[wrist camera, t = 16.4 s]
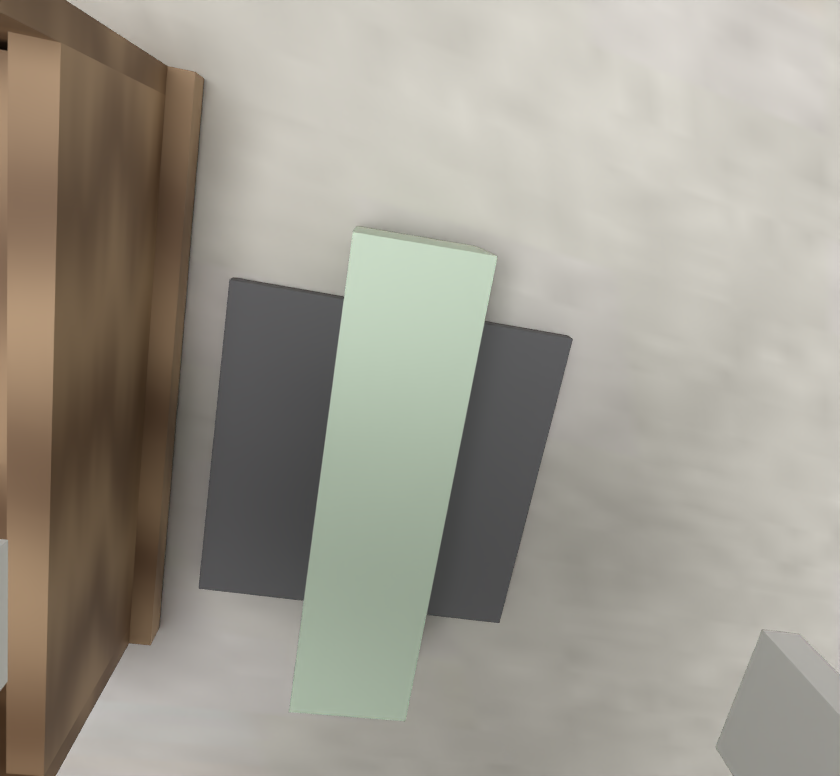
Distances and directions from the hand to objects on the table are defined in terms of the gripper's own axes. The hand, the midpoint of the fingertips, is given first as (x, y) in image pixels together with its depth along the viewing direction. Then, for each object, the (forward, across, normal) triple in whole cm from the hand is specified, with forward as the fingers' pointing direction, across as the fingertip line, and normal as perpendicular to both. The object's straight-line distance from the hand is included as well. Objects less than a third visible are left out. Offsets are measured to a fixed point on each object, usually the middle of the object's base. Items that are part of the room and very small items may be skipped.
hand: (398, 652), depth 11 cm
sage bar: (+12, 0, +2) cm, 12 cm away
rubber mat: (+13, 0, +2) cm, 13 cm away
